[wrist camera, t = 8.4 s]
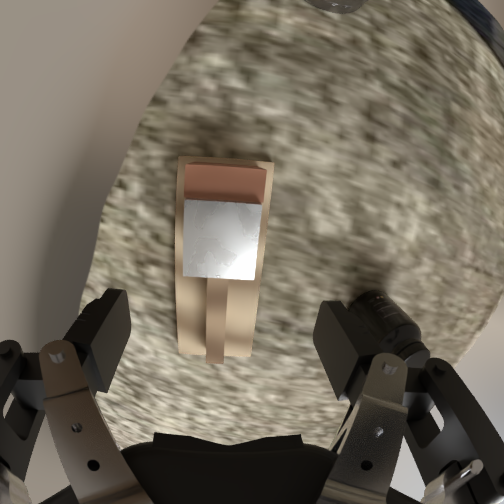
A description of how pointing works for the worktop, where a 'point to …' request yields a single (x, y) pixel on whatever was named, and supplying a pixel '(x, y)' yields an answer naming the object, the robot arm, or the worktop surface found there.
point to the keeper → (220, 238)
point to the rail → (198, 284)
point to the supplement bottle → (391, 328)
